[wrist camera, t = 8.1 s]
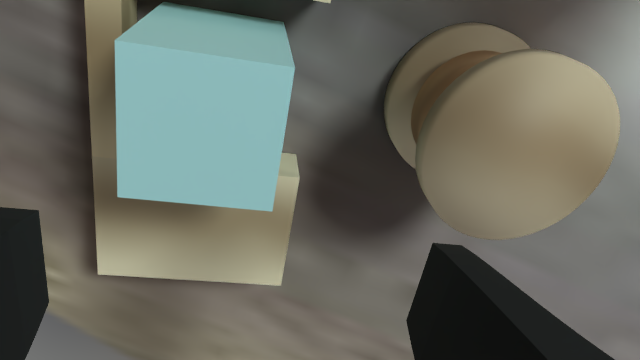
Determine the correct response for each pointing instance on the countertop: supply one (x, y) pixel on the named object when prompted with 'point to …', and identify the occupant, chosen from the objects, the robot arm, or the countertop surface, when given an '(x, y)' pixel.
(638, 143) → the countertop surface
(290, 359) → the countertop surface
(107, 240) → the notch board
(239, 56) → the pale teal block
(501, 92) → the spool
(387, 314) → the countertop surface
